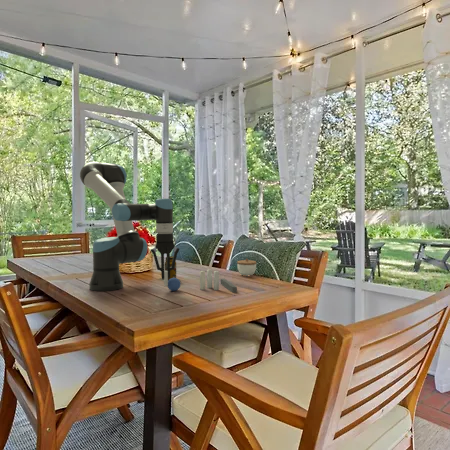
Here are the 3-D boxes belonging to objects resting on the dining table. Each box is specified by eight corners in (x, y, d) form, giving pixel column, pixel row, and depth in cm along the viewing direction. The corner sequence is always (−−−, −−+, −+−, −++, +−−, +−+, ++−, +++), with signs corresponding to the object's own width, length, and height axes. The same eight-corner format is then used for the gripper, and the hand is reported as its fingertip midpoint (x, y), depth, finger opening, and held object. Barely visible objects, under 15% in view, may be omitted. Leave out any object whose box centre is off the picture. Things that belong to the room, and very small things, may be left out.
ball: (165, 283, 167) (177, 276, 168) (163, 281, 173) (175, 274, 174) (172, 294, 168) (184, 287, 169) (170, 292, 174) (181, 284, 175)
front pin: (200, 290, 173) (200, 271, 173) (199, 288, 175) (199, 270, 175) (205, 289, 174) (205, 271, 173) (204, 288, 176) (204, 270, 176)
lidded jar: (240, 277, 205) (240, 260, 204) (234, 273, 215) (234, 257, 215) (258, 276, 208) (259, 259, 207) (252, 273, 218) (252, 257, 217)
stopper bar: (232, 292, 168) (232, 287, 168) (220, 283, 187) (220, 278, 187) (236, 292, 169) (236, 287, 169) (224, 283, 188) (224, 278, 188)
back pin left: (207, 288, 177) (207, 270, 176) (206, 287, 179) (206, 269, 179) (212, 288, 177) (212, 270, 177) (211, 287, 180) (211, 269, 179)
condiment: (179, 280, 196) (179, 257, 196) (164, 281, 192) (164, 258, 191) (173, 277, 203) (173, 255, 202) (158, 279, 198) (158, 256, 197)
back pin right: (214, 290, 172) (214, 272, 172) (213, 289, 175) (213, 271, 174) (219, 290, 173) (219, 271, 173) (218, 289, 175) (218, 271, 175)
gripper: (150, 233, 163) (151, 288, 163) (180, 232, 166) (181, 286, 166) (149, 233, 170) (150, 285, 170) (178, 232, 173) (179, 283, 173)
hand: (166, 285), depth 168 cm, fingers closed
